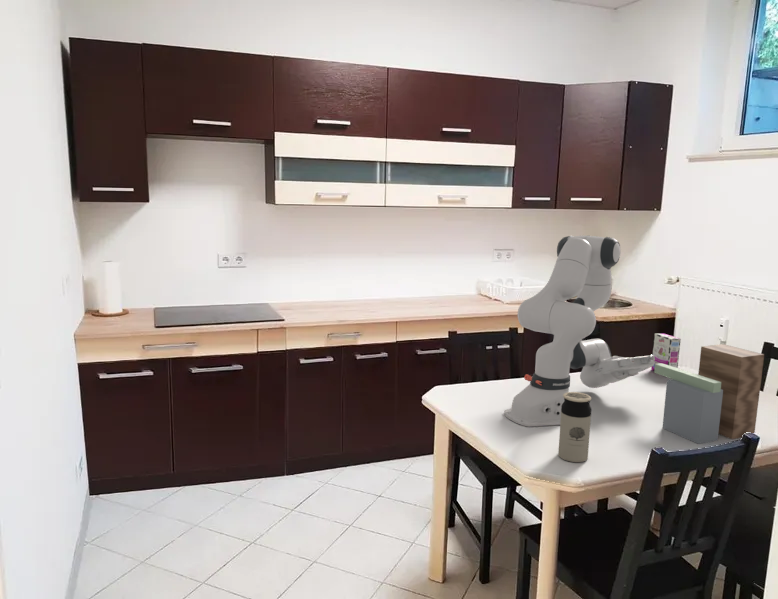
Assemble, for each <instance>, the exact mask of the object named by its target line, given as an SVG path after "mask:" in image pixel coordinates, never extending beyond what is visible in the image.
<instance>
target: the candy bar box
mask: <svg viewBox="0 0 778 599" xmlns="http://www.w3.org/2000/svg"><path fill="white" fill-rule="evenodd" d="M681 340H682V339H681V338H679V337H676V336H673V335H669V334H666V333H654V339H653V348H652V355H654V357H655V360H654V366H652V367H650V368H651V370H650V371H653V372H654V371H655V364H659V363H663V364H666V365H669V366H672V367H675V368H679V360H680V358H679V357H680V356H679V355H680V349H681V348H680V347H681Z"/></svg>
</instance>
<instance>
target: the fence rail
mask: <svg viewBox="0 0 778 599" xmlns="http://www.w3.org/2000/svg"><path fill="white" fill-rule="evenodd" d="M653 373H654V374H656V375H660V376H662V377H666V378H668V379H670V380H671V379H674V380H677V381H680V382H683V383H686V384H688V385H691V386H694V387H697V388H700V389H703V390H706V391H709V392H712V393H716V392H720V391H721V382H719V381H716V380H713V379H710V378H707V377H704V376H700V375H698V374H697V373H694V372H691V371H688V370H684V369H680V368H679V367H678V368H675V367H672V366H669V365H666V364H663V363H659V364H655V371H653Z"/></svg>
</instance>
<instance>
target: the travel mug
mask: <svg viewBox="0 0 778 599" xmlns="http://www.w3.org/2000/svg"><path fill="white" fill-rule="evenodd" d="M563 397H564V402H563V404H562V406H561V421H560V426H559V436H558V437H559V438H558V451H557V452H558V453H557V456H559V458H561V459H562V460H564V461H567V462H570V463H582V462H585V461H587V460H588V459H589V446H590V433H591V421H592V420H591V419H592V407H591V405H590V402H591V401H592V396H590V395H589V394H587V393H584V392H579V391H569V392H567V393H564V394H563Z"/></svg>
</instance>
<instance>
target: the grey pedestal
mask: <svg viewBox="0 0 778 599" xmlns="http://www.w3.org/2000/svg"><path fill="white" fill-rule="evenodd" d="M722 397H723V390H722V389H721V391H720V392H716V393H712V392H709V391H706V390H703V389H700V388H697V387H694V386H691V385H688V384H686V383H683V382H680V381H677V380H674V379H671V378H670V379H667V380H666V387H665V399H664V408H663V419H662V427H661V428H662V429H663V430H666V431H668V432H671V433H673V434H675V435H677V436H679V437H682V438H684V439H686V440H688V441H690V442H693V443H696V444H697V445H701V444H706V443H710V442H717V441H718V440H719V438H718V437H719V434H718V432H719V423H720V414H721V405H722Z"/></svg>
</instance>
